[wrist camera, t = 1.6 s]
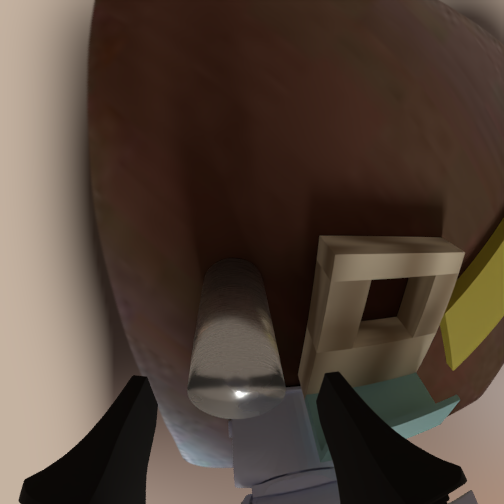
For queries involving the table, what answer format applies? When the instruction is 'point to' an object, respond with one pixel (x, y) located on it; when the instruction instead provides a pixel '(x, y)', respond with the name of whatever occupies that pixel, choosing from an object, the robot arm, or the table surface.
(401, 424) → the teal block
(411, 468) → the robot arm
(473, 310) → the flat olive board
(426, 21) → the table surface
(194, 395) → the peg
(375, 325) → the socket block
